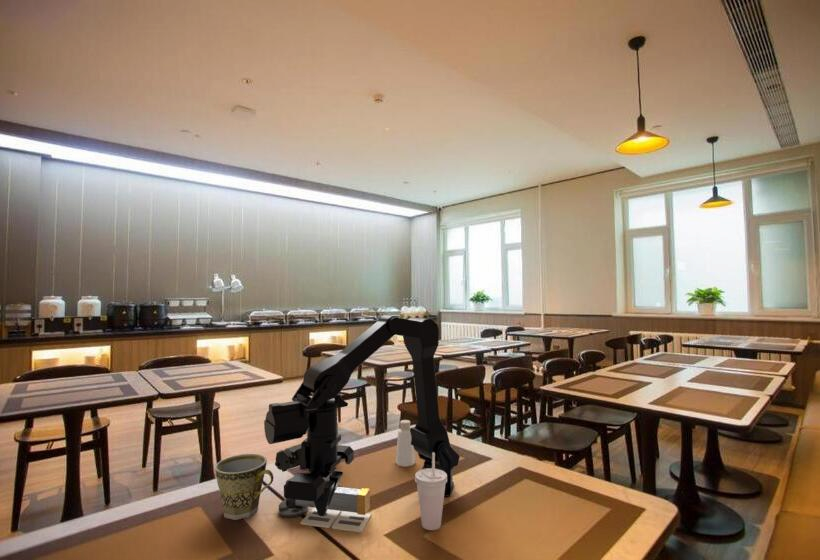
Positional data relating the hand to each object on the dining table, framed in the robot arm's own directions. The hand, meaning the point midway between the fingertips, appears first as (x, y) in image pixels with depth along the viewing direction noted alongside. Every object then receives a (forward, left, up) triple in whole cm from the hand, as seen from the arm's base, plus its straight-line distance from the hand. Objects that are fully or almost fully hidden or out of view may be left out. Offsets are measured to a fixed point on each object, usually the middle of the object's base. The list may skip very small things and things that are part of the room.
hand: (322, 515), depth 79 cm
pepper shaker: (-8, -35, -3) cm, 36 cm away
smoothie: (-20, -7, -3) cm, 21 cm away
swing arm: (+2, -6, -2) cm, 6 cm away
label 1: (+2, -4, -3) cm, 6 cm away
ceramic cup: (+18, -3, -3) cm, 19 cm away
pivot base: (+9, -6, -3) cm, 11 cm away
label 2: (-4, -4, -3) cm, 7 cm away
